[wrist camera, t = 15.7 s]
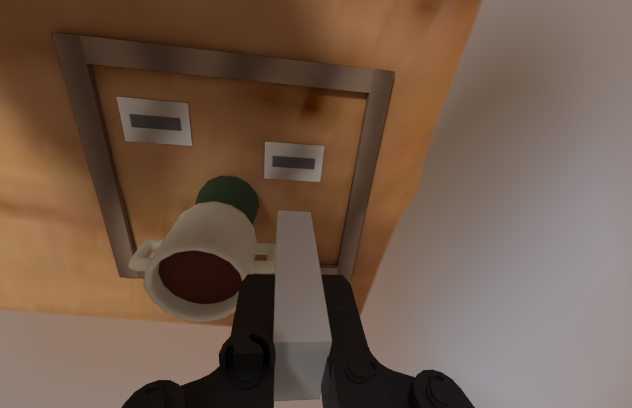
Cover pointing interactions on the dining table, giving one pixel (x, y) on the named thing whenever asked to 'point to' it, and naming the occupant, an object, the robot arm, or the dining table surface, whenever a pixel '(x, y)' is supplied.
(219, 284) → the character mug
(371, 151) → the label frame
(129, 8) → the dining table surface
